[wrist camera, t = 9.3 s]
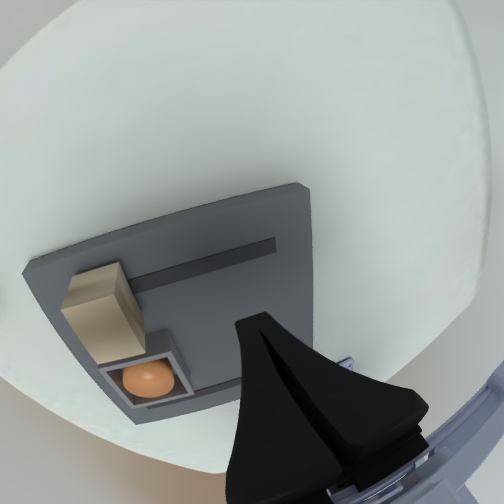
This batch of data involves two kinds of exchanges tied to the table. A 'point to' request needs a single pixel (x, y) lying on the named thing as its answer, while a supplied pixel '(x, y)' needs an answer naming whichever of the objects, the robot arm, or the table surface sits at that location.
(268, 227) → the control panel
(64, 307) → the birch slider
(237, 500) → the robot arm
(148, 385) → the push button
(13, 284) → the table surface
